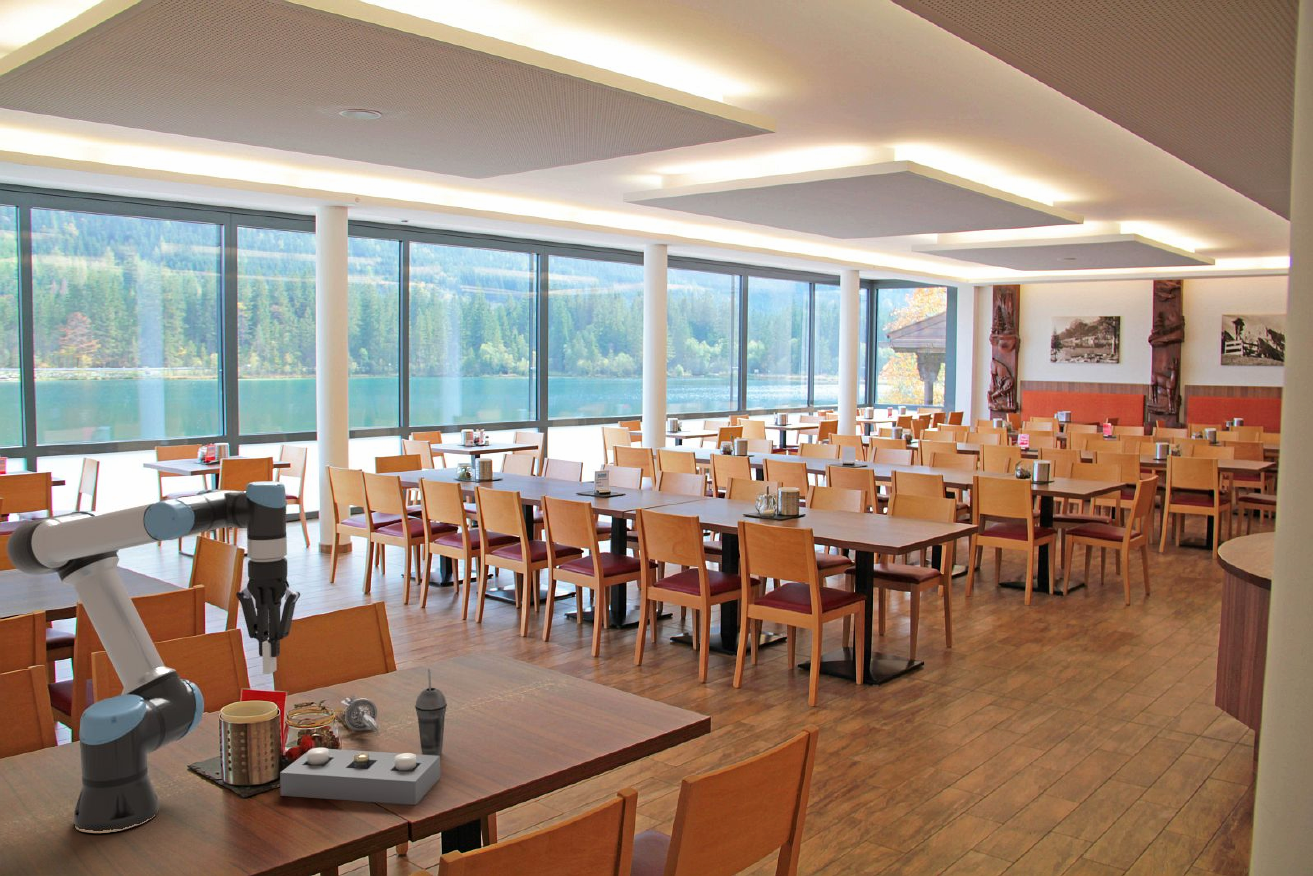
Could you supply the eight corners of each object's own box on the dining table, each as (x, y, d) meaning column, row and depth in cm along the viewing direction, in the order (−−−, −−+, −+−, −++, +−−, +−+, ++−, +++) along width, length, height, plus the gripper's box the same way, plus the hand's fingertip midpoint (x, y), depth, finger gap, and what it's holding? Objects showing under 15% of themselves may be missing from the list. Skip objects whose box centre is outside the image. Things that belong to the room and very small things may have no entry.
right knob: (411, 784, 216) (411, 761, 216) (392, 783, 217) (391, 760, 216) (419, 776, 220) (419, 753, 220) (400, 775, 221) (399, 752, 221)
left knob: (323, 778, 219) (322, 756, 219) (304, 777, 220) (303, 754, 219) (332, 770, 223) (332, 748, 223) (313, 769, 224) (313, 747, 224)
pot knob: (365, 772, 218) (365, 759, 218) (351, 772, 219) (351, 758, 218) (372, 767, 221) (371, 753, 221) (358, 766, 222) (357, 752, 221)
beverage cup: (420, 762, 234) (418, 676, 232) (412, 751, 240) (411, 668, 239) (451, 756, 237) (450, 672, 236) (442, 746, 244) (441, 663, 242)
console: (415, 805, 211) (415, 781, 211) (280, 795, 216) (280, 772, 215) (440, 778, 225) (439, 755, 224) (312, 769, 229) (312, 748, 229)
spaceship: (354, 723, 236) (385, 705, 240) (326, 696, 267) (354, 680, 270) (368, 753, 237) (399, 735, 241) (339, 722, 268) (367, 706, 272)
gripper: (306, 555, 210) (308, 668, 211) (247, 553, 211) (250, 665, 213) (288, 562, 202) (290, 679, 204) (227, 560, 204) (230, 675, 206)
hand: (269, 671), depth 209 cm, fingers closed
